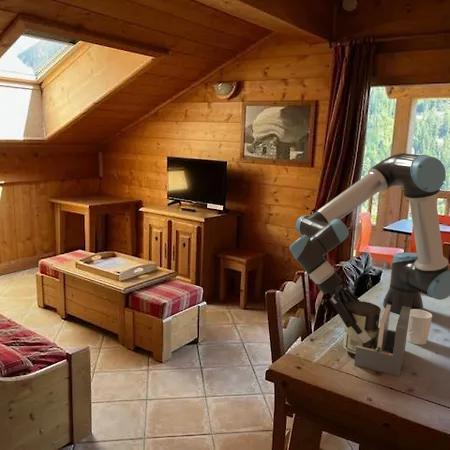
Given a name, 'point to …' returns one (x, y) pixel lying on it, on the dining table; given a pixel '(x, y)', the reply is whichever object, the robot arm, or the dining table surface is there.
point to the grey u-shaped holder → (394, 340)
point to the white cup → (418, 326)
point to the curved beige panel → (383, 329)
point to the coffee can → (369, 321)
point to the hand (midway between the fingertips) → (370, 334)
